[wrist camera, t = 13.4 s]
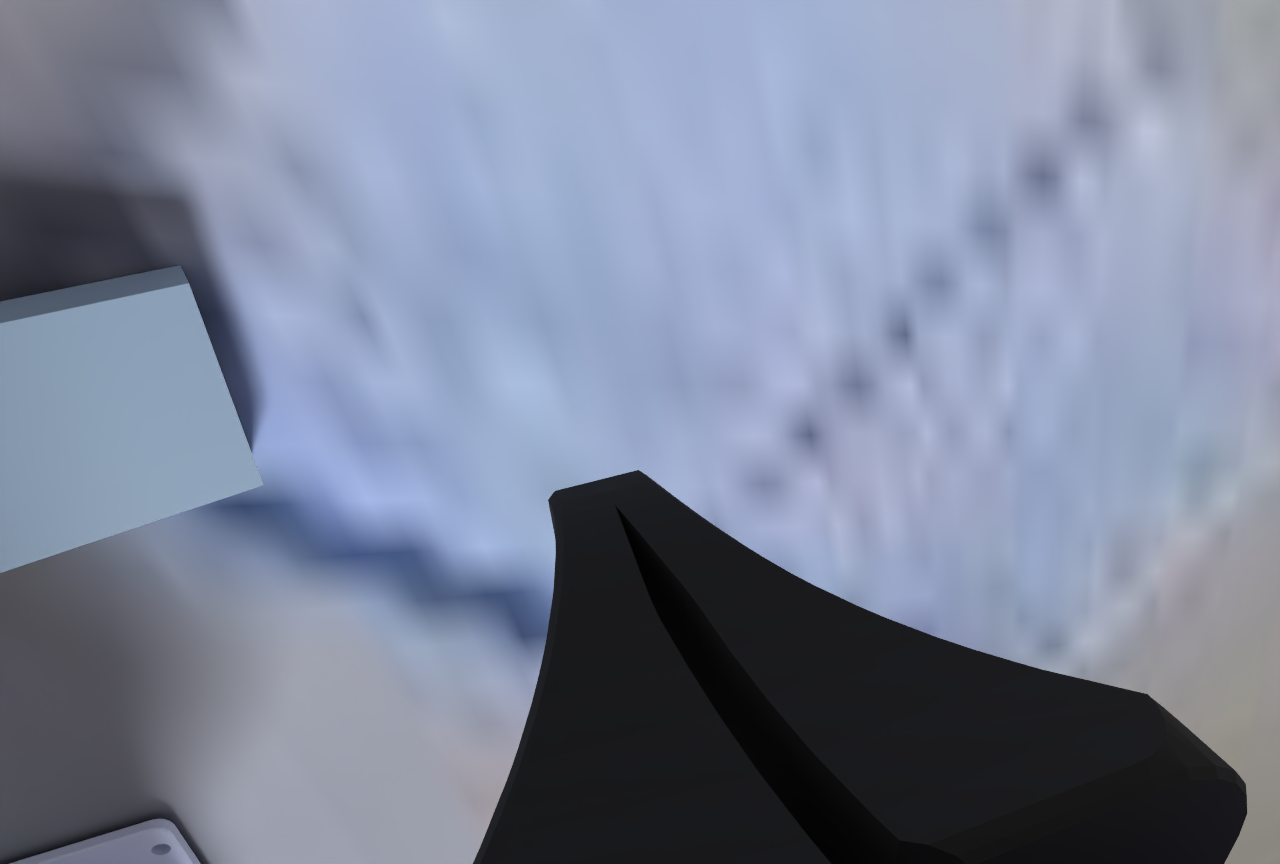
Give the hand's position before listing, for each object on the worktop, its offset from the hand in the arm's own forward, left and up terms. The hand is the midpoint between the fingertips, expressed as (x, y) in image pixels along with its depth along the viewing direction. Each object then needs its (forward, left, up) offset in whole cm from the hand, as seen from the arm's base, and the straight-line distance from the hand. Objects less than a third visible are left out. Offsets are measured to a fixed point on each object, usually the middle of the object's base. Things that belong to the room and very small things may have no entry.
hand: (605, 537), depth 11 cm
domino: (0, +7, -10) cm, 12 cm away
